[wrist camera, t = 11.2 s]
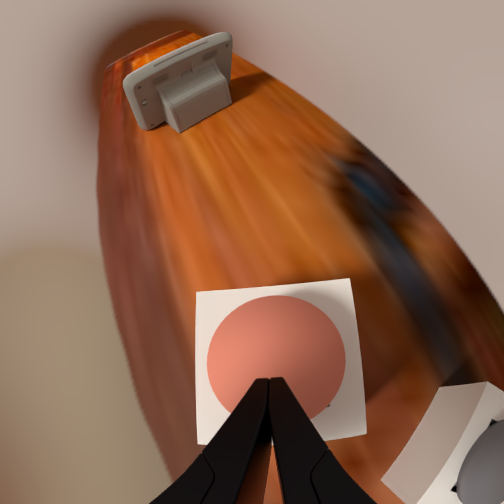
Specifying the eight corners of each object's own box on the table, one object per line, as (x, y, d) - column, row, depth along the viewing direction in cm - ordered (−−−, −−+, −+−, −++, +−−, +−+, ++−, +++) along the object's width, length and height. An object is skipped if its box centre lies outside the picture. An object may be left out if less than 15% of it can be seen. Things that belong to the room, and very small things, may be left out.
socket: (447, 505, 11) (486, 526, 5) (380, 479, 15) (411, 509, 9) (498, 420, 14) (546, 419, 8) (439, 387, 17) (487, 381, 11)
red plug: (328, 407, 17) (350, 420, 10) (238, 414, 18) (208, 429, 11) (321, 324, 20) (337, 288, 13) (235, 331, 21) (206, 300, 14)
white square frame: (343, 419, 18) (366, 433, 12) (225, 427, 19) (197, 444, 13) (333, 309, 22) (349, 278, 16) (222, 319, 23) (196, 292, 17)
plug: (450, 492, 12) (500, 515, 5) (403, 473, 14) (449, 503, 7) (487, 429, 14) (545, 431, 7) (445, 406, 16) (504, 406, 9)
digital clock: (230, 80, 40) (218, 25, 31) (256, 102, 36) (245, 36, 26) (138, 121, 38) (112, 67, 29) (148, 150, 34) (116, 87, 25)
